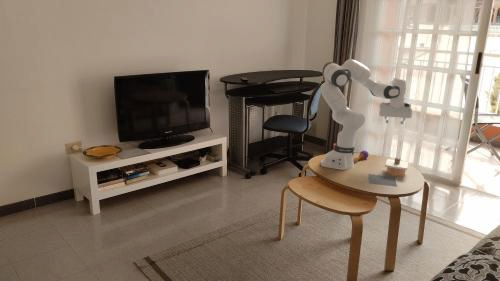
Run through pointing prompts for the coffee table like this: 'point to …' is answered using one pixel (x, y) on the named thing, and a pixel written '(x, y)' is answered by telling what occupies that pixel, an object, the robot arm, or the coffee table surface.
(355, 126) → the robot arm
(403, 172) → the bowl
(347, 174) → the coffee table surface
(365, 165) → the coffee table surface
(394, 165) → the lid
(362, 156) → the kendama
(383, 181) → the mat
